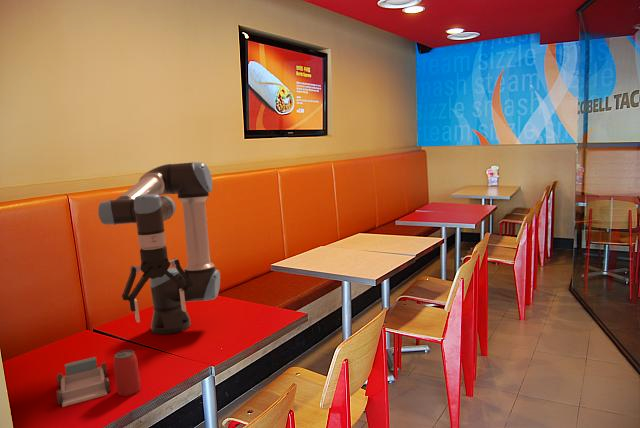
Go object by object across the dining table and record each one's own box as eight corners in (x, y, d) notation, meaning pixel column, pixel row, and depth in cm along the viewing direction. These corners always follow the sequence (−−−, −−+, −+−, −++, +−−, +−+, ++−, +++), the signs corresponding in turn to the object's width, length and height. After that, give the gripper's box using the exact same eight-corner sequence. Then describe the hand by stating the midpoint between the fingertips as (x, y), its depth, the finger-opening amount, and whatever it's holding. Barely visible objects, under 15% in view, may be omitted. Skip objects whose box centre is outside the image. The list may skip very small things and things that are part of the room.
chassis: (58, 383, 157) (56, 366, 156) (106, 371, 164) (104, 354, 163) (58, 408, 142) (55, 389, 141) (110, 393, 149) (108, 375, 148)
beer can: (121, 386, 152) (116, 350, 150) (143, 384, 153) (138, 348, 151) (114, 398, 146) (109, 359, 144) (137, 395, 146) (132, 357, 144)
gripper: (109, 256, 137) (119, 329, 140) (198, 242, 149) (205, 309, 152) (106, 251, 143) (115, 321, 147) (191, 238, 155) (198, 303, 159)
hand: (161, 315), depth 150 cm, fingers open, 13 cm apart
